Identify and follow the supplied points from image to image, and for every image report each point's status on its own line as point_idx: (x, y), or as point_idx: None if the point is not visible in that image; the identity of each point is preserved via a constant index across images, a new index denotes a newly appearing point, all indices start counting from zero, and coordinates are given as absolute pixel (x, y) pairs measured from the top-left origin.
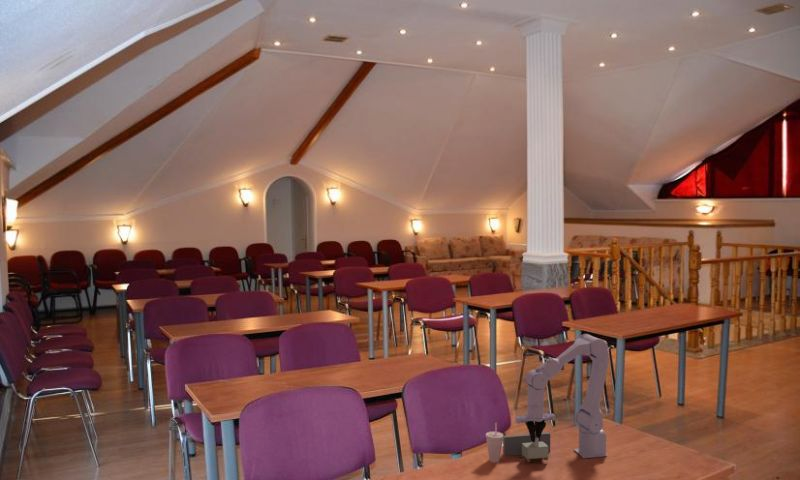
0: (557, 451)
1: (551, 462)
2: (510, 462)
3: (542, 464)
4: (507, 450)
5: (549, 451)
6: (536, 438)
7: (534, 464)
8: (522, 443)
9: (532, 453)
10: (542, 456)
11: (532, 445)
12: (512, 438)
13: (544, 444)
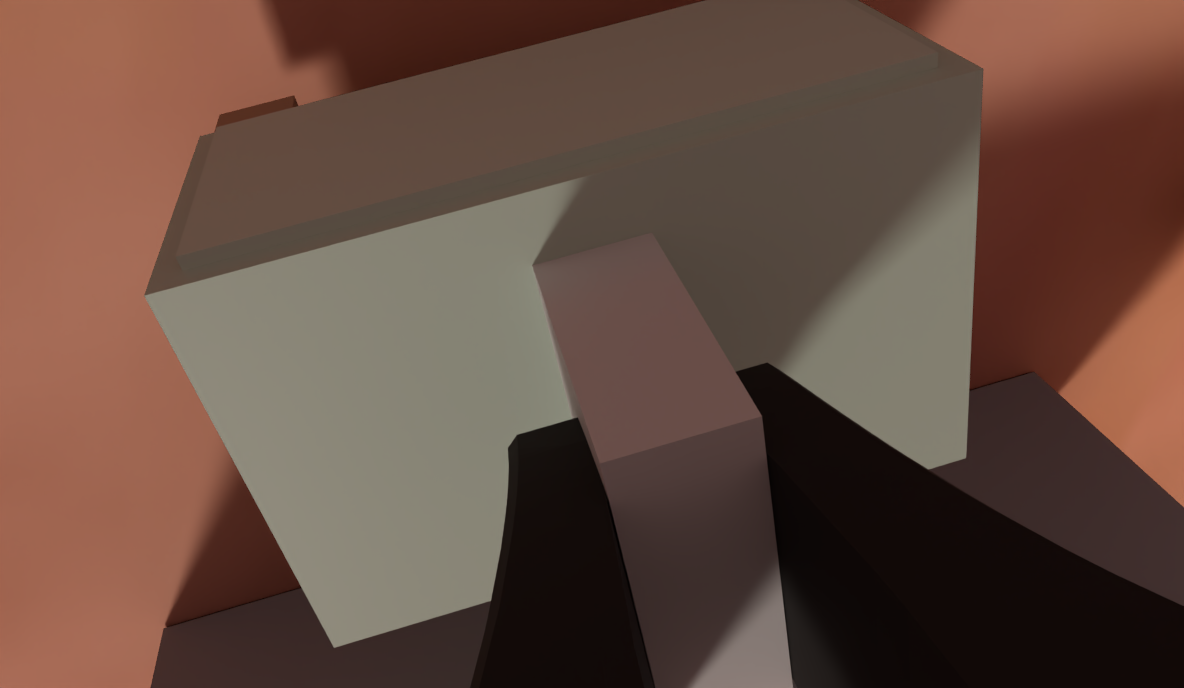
0: (10, 656)
1: (136, 137)
2: (1047, 100)
3: (378, 8)
4: (1041, 444)
5: (177, 628)
6: (713, 424)
7: (576, 4)
8: (958, 450)
9: (725, 43)
10: (382, 92)
11: (724, 332)
12: None
13: (294, 444)
